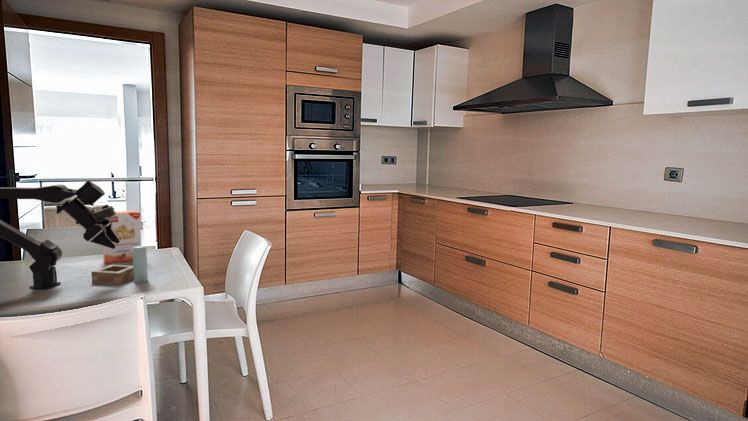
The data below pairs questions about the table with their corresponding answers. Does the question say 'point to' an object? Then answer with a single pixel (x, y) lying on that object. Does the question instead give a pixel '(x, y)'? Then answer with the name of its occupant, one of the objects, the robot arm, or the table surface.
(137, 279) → the column
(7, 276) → the table surface
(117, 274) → the socket base
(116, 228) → the cracker box
